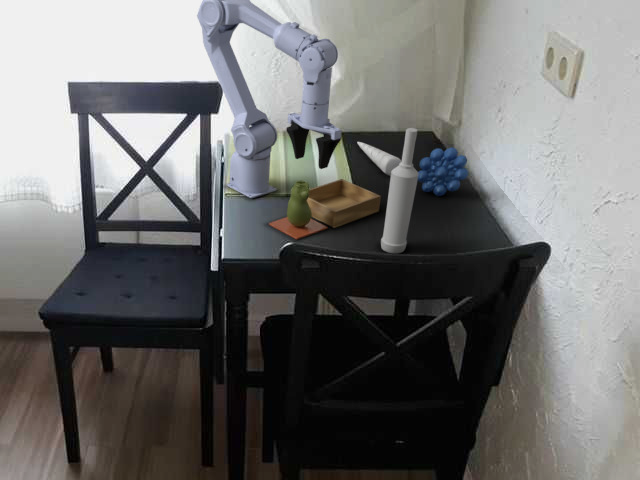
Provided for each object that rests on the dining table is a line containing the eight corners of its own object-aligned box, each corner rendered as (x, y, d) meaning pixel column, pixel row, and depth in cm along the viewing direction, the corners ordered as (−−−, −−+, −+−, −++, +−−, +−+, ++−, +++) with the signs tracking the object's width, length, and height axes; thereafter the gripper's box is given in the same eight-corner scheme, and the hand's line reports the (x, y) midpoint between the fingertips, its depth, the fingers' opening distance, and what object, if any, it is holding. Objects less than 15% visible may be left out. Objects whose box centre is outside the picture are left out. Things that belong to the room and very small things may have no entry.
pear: (285, 219, 165) (288, 176, 159) (309, 219, 165) (313, 176, 159) (286, 230, 160) (289, 186, 155) (311, 231, 160) (315, 187, 155)
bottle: (377, 242, 157) (394, 125, 143) (401, 241, 157) (420, 125, 143) (384, 254, 152) (402, 134, 139) (408, 253, 153) (429, 134, 139)
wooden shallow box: (295, 208, 171) (297, 193, 168) (339, 193, 178) (341, 178, 176) (334, 227, 162) (335, 211, 160) (378, 211, 170) (381, 195, 168)
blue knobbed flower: (467, 194, 178) (477, 145, 171) (459, 204, 173) (469, 154, 167) (419, 184, 183) (427, 136, 176) (410, 193, 178) (418, 145, 172)
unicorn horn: (370, 143, 207) (372, 126, 204) (401, 176, 187) (404, 158, 184) (353, 144, 206) (355, 127, 203) (383, 177, 186) (386, 159, 184)
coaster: (268, 224, 164) (268, 223, 163) (299, 214, 168) (299, 212, 168) (296, 239, 158) (296, 238, 157) (327, 228, 162) (327, 226, 162)
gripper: (353, 105, 156) (347, 168, 163) (305, 90, 166) (301, 149, 173) (329, 112, 152) (324, 175, 160) (281, 96, 162) (279, 156, 169)
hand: (311, 162), depth 166 cm, fingers open, 7 cm apart
